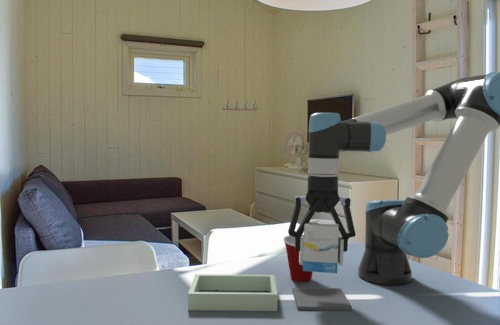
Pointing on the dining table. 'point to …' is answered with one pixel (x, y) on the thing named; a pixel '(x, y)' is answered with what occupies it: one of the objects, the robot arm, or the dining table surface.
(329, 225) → the ink box
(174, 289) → the dining table surface
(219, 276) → the bin
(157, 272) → the dining table surface
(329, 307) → the pad
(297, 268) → the plastic cup
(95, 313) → the dining table surface
